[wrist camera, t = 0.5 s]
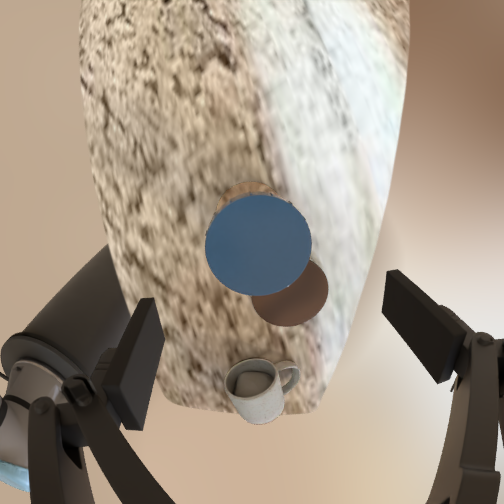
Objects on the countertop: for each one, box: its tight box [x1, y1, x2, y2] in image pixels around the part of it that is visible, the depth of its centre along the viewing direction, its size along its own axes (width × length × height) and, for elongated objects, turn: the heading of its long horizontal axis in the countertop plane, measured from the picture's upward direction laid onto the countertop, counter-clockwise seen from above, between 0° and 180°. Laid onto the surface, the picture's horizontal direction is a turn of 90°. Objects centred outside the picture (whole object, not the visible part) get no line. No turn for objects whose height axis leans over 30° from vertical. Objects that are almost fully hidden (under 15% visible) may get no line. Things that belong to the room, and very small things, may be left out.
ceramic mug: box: [224, 358, 301, 425], centre depth 40 cm, size 11×8×8 cm
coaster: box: [252, 260, 328, 327], centre depth 38 cm, size 10×10×1 cm
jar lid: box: [205, 191, 312, 296], centre depth 25 cm, size 9×9×2 cm
